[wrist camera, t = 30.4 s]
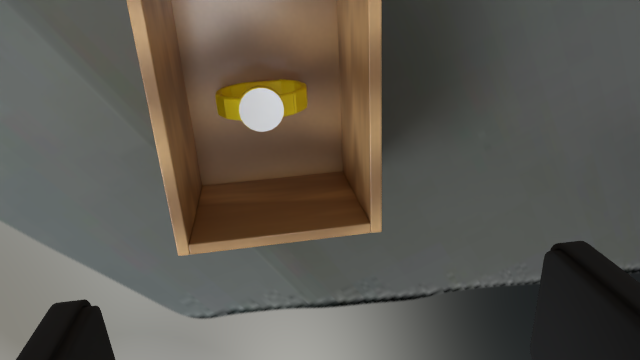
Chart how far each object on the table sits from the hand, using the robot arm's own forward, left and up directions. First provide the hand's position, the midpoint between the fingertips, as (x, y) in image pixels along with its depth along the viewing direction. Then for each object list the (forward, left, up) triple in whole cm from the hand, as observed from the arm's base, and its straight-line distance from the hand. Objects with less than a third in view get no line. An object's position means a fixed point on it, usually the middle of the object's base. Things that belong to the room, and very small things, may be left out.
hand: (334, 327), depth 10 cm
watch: (+1, 0, -26) cm, 26 cm away
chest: (+1, -1, -26) cm, 26 cm away
